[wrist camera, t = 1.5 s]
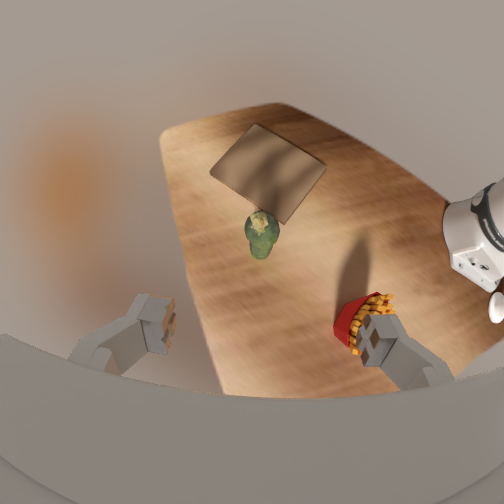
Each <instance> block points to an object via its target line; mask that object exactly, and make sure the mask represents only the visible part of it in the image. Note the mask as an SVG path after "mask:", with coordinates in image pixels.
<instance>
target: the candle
mask: <svg viewBox="0 0 504 504" xmlns="http://www.w3.org/2000/svg"><path fill="white" fill-rule="evenodd" d="M488 312H489V317H490V319H491V321H492V322H494V323H499V322H501V321H502V319H503V318H504V296H503V294H502V293H500V292H496V293H494V294H493V295H492V297H491V298H490V301H489V306H488Z"/></svg>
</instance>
